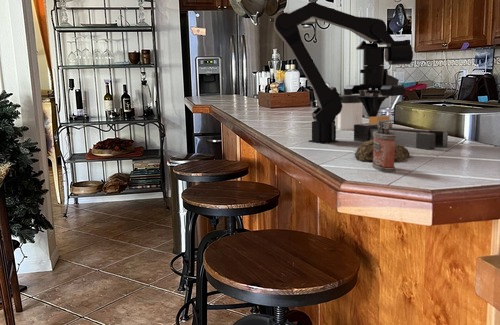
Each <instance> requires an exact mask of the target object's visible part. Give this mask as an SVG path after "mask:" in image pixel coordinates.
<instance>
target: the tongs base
mask: <svg viewBox="0 0 500 325" xmlns="http://www.w3.org/2000/svg"><path fill="white" fill-rule="evenodd" d="M373 131H378V126H377V125H376V124H369V122H366V123H362V124H355V125H354V130H353V141H354V142H360V143H364V142H366V141H370V140H374V136H373ZM389 132H391V133H394V134H396V139H395V144H397V145H403V146H404V147H405V148H411V149H417V150H426V151H433V150H435V149H436V147H435V134H434V133H424V132H421V133H415V132H405V131H395V130H389Z"/></svg>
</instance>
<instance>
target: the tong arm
mask: <svg viewBox="0 0 500 325" xmlns="http://www.w3.org/2000/svg"><path fill="white" fill-rule="evenodd" d="M389 130H395V131H405V132H415V133H421V132H424V133H434V134H435V148H442V149H443V148H447V147H448V140H449V139H448V138H449V137H448V136H449V130H445V129H444V130H443V129H421V128H409V127H408V128H406V127H395V126H393V129H389Z"/></svg>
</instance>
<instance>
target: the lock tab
mask: <svg viewBox="0 0 500 325" xmlns="http://www.w3.org/2000/svg"><path fill="white" fill-rule="evenodd" d="M385 120H387V121H388V122H390V116H389V115H377V116H373V117H369V116H368V123H369V124H376V125H377V122H379V121H385Z"/></svg>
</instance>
